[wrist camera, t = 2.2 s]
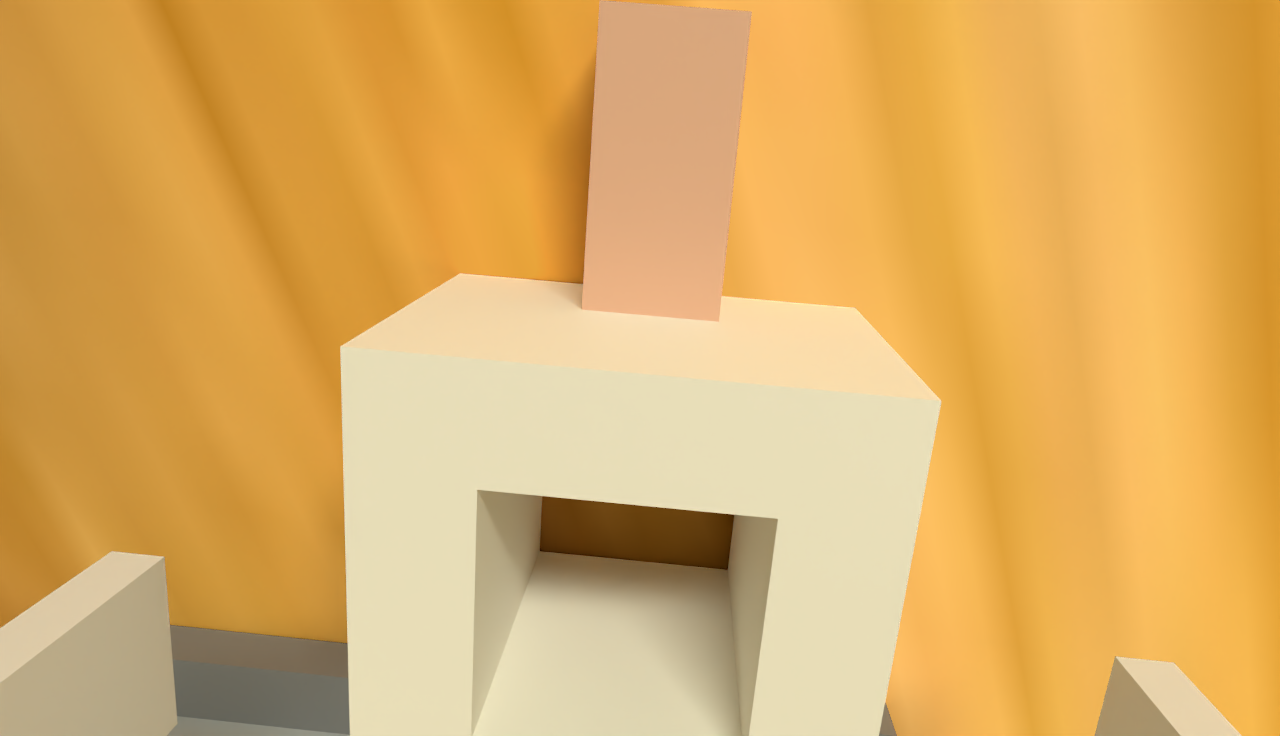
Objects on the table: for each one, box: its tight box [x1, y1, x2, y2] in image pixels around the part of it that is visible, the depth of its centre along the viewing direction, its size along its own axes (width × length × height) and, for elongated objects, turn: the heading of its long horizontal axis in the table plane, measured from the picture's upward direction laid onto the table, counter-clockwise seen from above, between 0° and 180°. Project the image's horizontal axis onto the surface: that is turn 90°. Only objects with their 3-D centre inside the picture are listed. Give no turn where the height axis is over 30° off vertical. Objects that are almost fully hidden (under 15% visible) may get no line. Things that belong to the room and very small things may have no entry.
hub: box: [340, 0, 941, 736], centre depth 14 cm, size 13×8×6 cm, turn 176°
